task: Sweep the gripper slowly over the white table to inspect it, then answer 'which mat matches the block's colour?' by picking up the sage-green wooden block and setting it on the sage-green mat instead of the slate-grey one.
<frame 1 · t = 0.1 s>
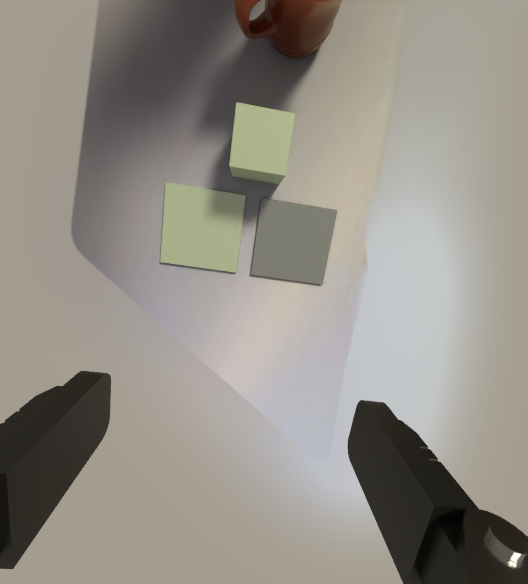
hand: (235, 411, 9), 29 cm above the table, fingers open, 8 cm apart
pale green cube: (259, 155, 34), on the table
sage pad: (202, 229, 36), on the table
mug: (284, 35, 32), on the table
grey pad: (292, 242, 37), on the table
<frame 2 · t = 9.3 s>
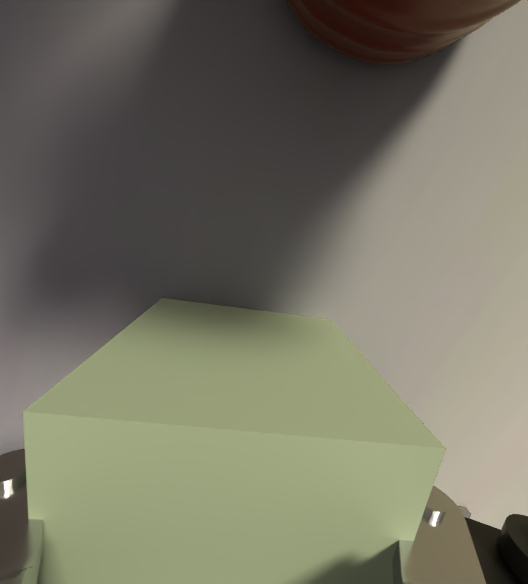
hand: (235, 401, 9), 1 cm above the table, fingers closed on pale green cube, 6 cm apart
pale green cube: (237, 384, 10), on the table, touching gripper
when the fingers open (3 cm above the table, at t = 15.0 s): pale green cube drops 1 cm, resting on sage pad.
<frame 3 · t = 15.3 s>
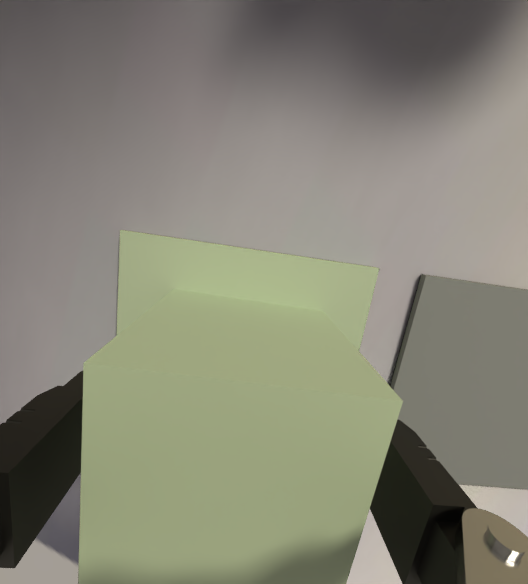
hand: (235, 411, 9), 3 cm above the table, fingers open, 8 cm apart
pale green cube: (239, 368, 12), resting on sage pad
sage pad: (238, 364, 12), on the table
grey pad: (491, 392, 13), on the table
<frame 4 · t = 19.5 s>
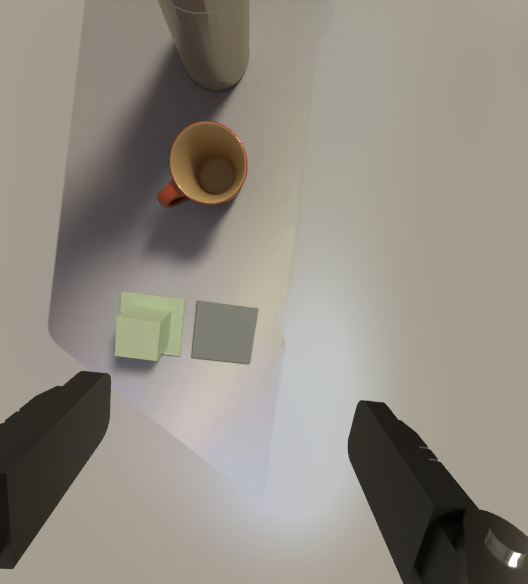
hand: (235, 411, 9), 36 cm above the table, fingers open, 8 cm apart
pale green cube: (151, 324, 45), resting on sage pad
sage pad: (152, 324, 45), on the table
mug: (209, 185, 41), on the table
grey pad: (224, 332, 46), on the table
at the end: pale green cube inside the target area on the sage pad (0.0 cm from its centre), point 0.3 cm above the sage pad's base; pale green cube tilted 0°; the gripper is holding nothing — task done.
